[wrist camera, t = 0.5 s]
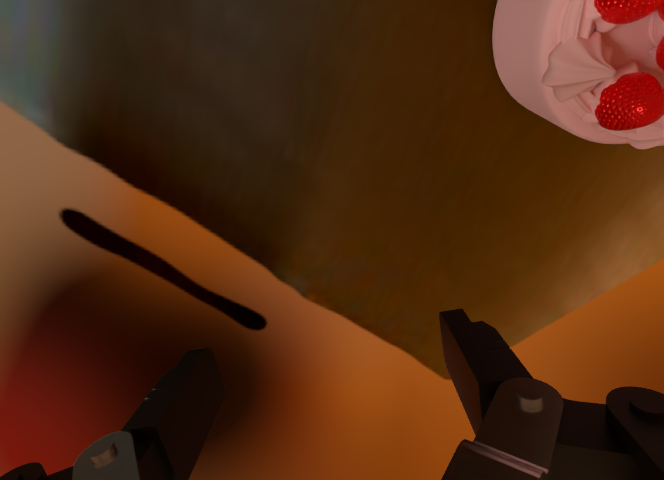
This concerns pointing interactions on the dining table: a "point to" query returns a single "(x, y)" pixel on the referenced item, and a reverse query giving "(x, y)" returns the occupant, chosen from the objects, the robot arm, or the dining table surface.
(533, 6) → the cake
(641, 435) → the robot arm
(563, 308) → the dining table surface
